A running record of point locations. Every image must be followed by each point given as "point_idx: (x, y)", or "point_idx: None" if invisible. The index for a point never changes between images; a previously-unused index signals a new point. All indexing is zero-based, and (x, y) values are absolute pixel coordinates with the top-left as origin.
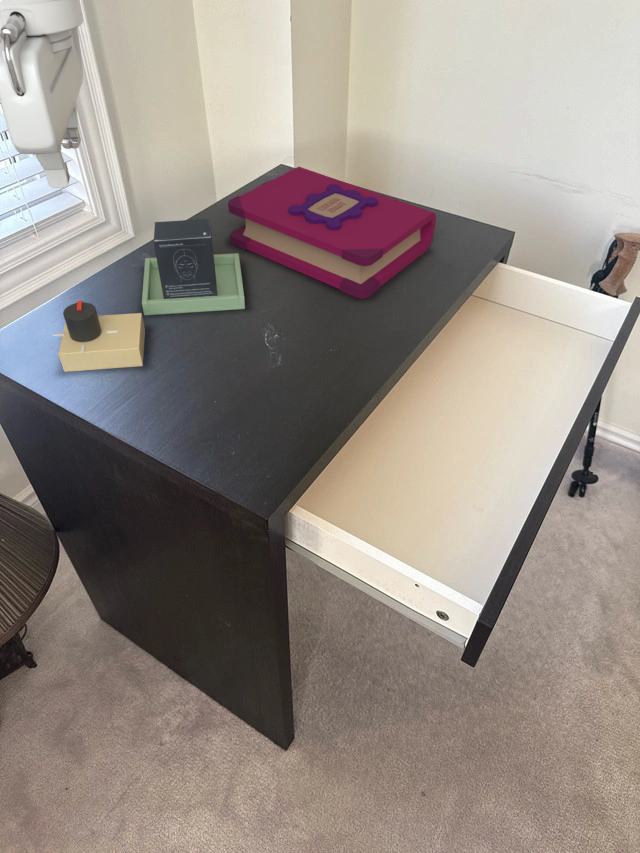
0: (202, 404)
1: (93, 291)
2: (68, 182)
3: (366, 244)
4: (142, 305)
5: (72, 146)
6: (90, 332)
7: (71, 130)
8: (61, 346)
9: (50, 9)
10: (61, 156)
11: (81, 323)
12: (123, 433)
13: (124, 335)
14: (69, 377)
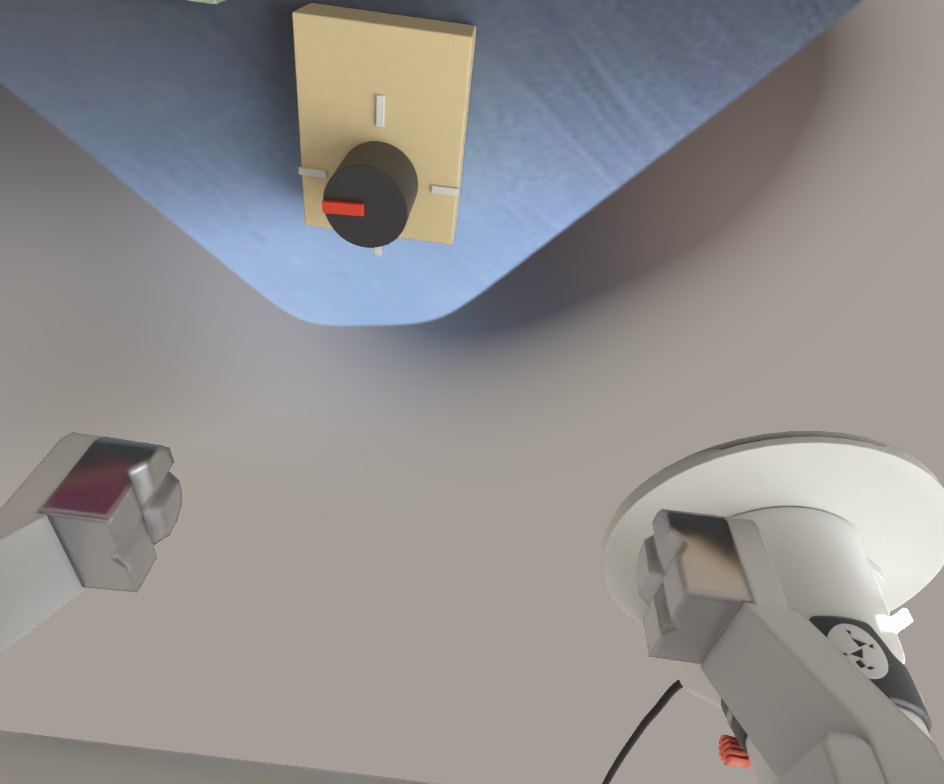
0: None
1: (121, 143)
2: (738, 523)
3: None
4: (219, 2)
5: (167, 473)
6: (409, 174)
7: (107, 540)
8: (423, 237)
9: None
10: (861, 699)
11: (409, 202)
12: (716, 99)
13: (403, 76)
14: (477, 211)
